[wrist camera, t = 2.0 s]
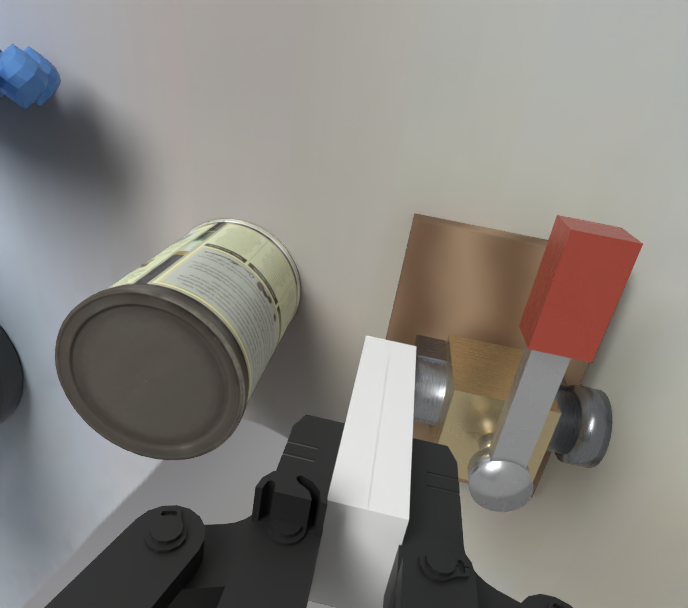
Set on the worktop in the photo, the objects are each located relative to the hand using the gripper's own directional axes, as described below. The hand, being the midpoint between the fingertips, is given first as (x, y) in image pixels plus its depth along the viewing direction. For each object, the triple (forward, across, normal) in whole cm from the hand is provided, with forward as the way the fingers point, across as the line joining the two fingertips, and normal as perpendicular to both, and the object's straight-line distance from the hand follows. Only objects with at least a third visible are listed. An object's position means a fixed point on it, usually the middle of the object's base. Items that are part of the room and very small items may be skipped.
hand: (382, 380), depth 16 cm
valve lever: (+10, +8, -4) cm, 13 cm away
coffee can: (+22, -12, -8) cm, 26 cm away
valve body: (+20, +8, -10) cm, 24 cm away
